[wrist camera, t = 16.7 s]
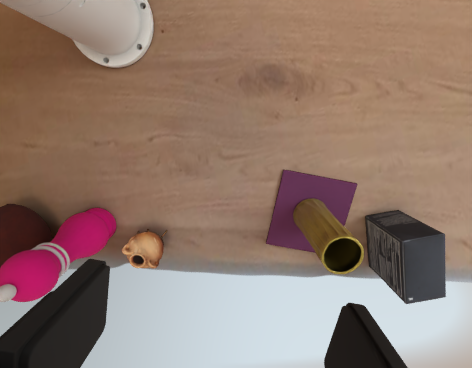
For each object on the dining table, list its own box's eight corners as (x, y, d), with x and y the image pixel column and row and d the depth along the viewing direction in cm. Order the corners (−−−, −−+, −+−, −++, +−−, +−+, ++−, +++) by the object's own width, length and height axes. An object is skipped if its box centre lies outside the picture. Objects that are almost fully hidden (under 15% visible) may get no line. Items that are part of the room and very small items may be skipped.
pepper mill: (87, 245, 47) (-18, 332, 27) (73, 209, 45) (-50, 275, 26) (124, 237, 46) (44, 320, 27) (111, 201, 45) (15, 261, 25)
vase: (291, 230, 46) (315, 277, 32) (294, 197, 44) (320, 232, 30) (325, 230, 46) (364, 278, 32) (329, 198, 44) (371, 233, 30)
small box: (403, 261, 47) (448, 299, 37) (368, 267, 48) (404, 306, 38) (400, 208, 45) (449, 234, 35) (364, 215, 45) (401, 242, 35)
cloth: (283, 169, 43) (283, 169, 43) (356, 183, 44) (357, 183, 43) (266, 242, 47) (266, 243, 46) (334, 255, 47) (334, 256, 47)
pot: (173, 249, 48) (165, 219, 45) (161, 279, 40) (151, 244, 38) (142, 253, 48) (133, 223, 46) (125, 283, 40) (113, 249, 38)
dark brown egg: (23, 259, 48) (-26, 291, 39) (4, 198, 45) (-54, 218, 36) (69, 256, 47) (29, 287, 38) (52, 194, 45) (5, 213, 36)
